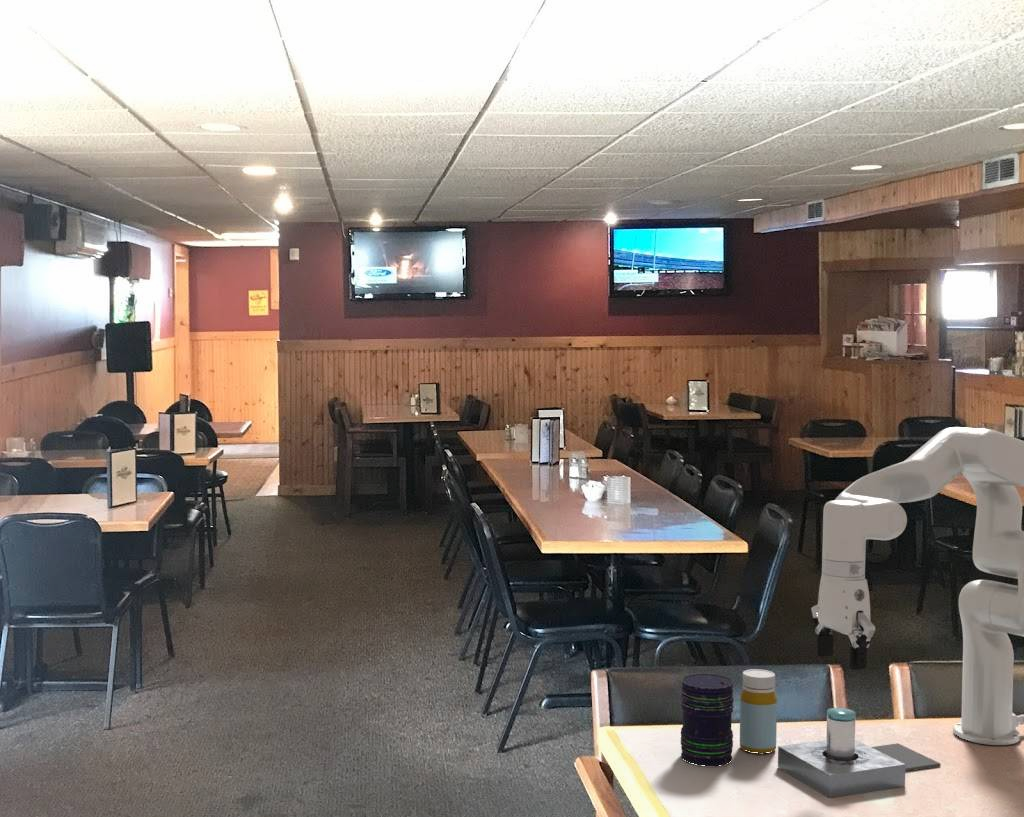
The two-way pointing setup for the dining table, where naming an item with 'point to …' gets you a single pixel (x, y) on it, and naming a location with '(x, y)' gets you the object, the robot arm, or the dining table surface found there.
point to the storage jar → (707, 719)
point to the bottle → (758, 711)
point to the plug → (840, 734)
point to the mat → (907, 756)
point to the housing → (841, 769)
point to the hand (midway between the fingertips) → (841, 662)
